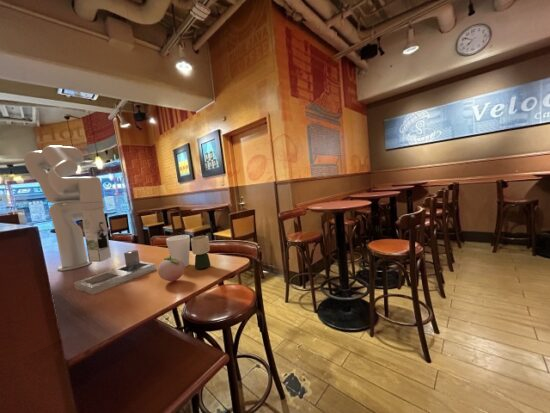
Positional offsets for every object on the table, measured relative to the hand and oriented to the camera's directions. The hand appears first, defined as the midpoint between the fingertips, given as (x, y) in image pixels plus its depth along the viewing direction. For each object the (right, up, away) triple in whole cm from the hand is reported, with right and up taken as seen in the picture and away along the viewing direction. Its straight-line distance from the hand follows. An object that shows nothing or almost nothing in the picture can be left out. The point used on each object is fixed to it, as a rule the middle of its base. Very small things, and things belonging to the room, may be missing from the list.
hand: (98, 246), depth 98 cm
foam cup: (+35, -9, +2) cm, 37 cm away
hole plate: (+14, -12, -7) cm, 19 cm away
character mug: (+46, -9, -2) cm, 47 cm away
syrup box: (0, -6, +1) cm, 6 cm away
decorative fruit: (+39, -11, -15) cm, 43 cm away
